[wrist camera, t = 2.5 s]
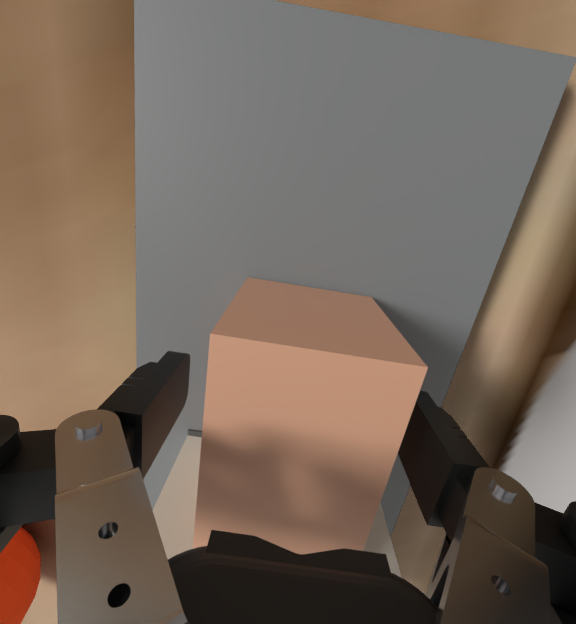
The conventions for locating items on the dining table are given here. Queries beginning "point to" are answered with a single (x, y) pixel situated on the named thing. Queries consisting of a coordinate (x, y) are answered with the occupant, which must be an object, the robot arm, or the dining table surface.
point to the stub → (302, 416)
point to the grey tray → (320, 187)
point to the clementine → (18, 577)
